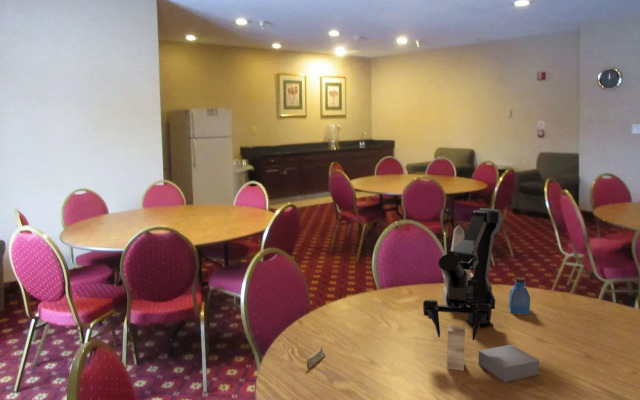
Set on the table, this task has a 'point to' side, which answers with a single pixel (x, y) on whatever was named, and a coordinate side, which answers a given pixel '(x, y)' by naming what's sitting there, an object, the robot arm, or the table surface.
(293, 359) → the table surface
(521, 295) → the perfume bottle
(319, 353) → the snack bar
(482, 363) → the plinth
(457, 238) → the miniature monument
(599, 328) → the table surface
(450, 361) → the birch block
